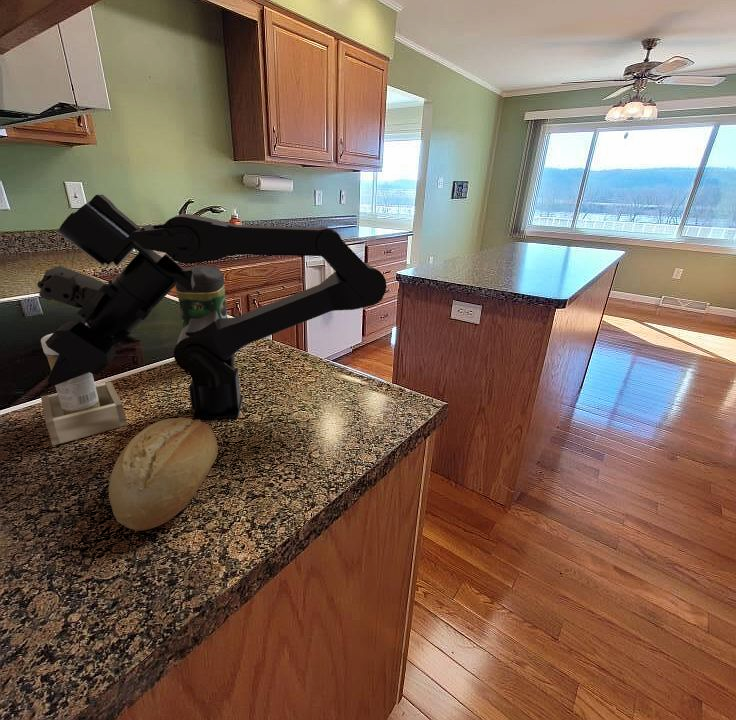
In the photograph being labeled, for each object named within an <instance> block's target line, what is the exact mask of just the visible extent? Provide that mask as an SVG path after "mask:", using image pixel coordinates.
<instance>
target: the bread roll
mask: <svg viewBox="0 0 736 720" xmlns="http://www.w3.org/2000/svg"><path fill="white" fill-rule="evenodd" d="M218 448H219V447H218V442H217V438H216V435H215V432H214V431H213V429H212V428H211V427H210V426H209V425H208V424H207V423H205V421H204V422H203V421H202V420H201V419H197V420H196V419H191V418H187V417H179V418H175V417H174V418H166V419H161V420H158V421H156V422H154V423H152V424H149V425H148V426H147V427H145V428H143V429H142V430H141V431H139V433H137V434H136V435H135V436H133V438H132V439H130V440H129V442H127V444H126V445H125V447H124V449H122V451H121V453H120V454H119V456H118V459H117V460H116V462H115V464H114V466H113V468H112V472H111V475H110V478H109V484H108V499H109V501H110V502H109V503H110V506H111V509H112V514H113V516H114V518H115V520H116V522H117V523H119V524H121V525H122V526H124V527H125V528H127V529H130V530H134V532H139V531H146V530H150V529H153V528H154V529H155V528H158V527H159V526H162V525H164V524H166V523H167V522H169V521H171V520H172V519H173V518H174V517H176V515H178V514H179V513H181V511H182V510H183V509H184V508H186V506H188V504H189V503H190V502H191V500H192V499H193V498H194V497H195V495H196V493H197V492H198V490H199V488H200V487H201V485H202V484H203V482H204V481H205V479H206V477H207V475H208V473H209V472H210V471H211V468H212V467H213V465H214V463H215V461H216V459H217V456H218Z"/></svg>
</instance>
